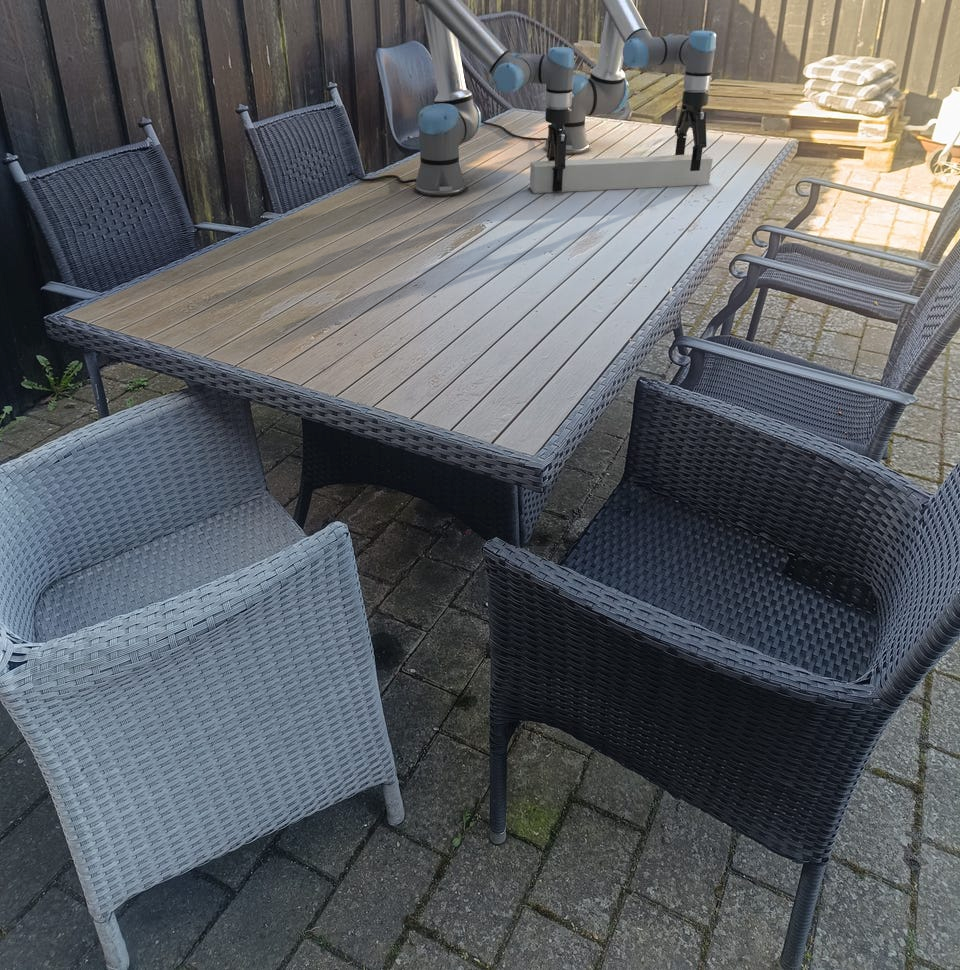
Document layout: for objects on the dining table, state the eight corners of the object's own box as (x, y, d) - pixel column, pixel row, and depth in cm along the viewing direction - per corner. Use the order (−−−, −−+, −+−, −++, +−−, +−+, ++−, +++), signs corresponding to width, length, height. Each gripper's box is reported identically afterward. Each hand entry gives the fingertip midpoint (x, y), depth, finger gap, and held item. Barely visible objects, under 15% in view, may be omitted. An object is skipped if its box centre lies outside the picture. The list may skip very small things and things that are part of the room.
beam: (533, 193, 256) (534, 166, 251) (529, 187, 260) (530, 161, 256) (708, 184, 263) (712, 158, 258) (701, 179, 268) (705, 153, 263)
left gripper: (579, 113, 238) (574, 196, 252) (563, 99, 253) (559, 178, 267) (553, 114, 237) (549, 197, 251) (539, 100, 252) (536, 179, 266)
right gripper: (725, 97, 239) (713, 174, 251) (692, 82, 259) (683, 154, 271) (699, 98, 238) (689, 176, 250) (669, 83, 258) (661, 155, 270)
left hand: (554, 187), depth 259 cm, fingers closed on beam, 6 cm apart
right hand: (686, 165), depth 261 cm, fingers open, 13 cm apart
